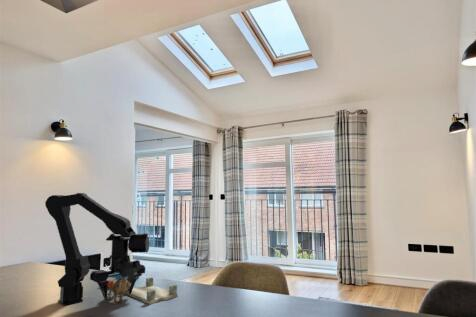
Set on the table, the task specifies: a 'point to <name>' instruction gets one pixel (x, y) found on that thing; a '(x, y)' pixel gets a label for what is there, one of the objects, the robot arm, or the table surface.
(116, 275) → the lever
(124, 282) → the lion figurine
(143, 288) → the cradle jig
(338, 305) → the table surface
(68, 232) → the robot arm
